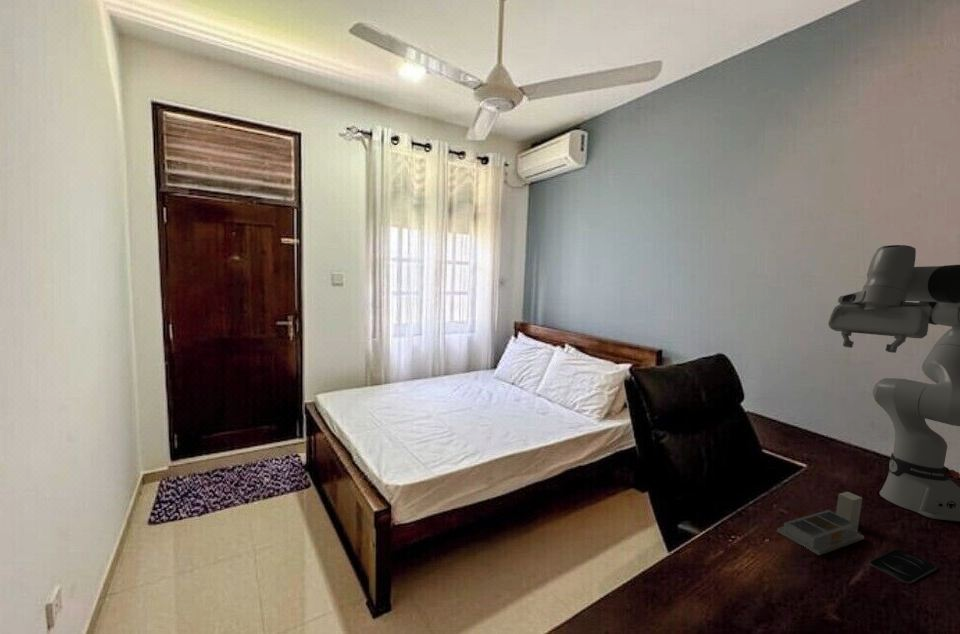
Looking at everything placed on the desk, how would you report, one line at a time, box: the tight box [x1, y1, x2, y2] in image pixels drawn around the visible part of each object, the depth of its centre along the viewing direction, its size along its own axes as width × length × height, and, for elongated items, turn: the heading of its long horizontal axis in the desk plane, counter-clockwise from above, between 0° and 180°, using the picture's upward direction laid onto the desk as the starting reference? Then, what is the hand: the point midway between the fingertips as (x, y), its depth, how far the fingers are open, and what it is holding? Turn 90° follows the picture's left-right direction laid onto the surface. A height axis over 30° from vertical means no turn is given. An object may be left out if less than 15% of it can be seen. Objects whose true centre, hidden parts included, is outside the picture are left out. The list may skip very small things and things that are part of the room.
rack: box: [776, 509, 865, 556], centre depth 110 cm, size 20×10×4 cm, turn 113°
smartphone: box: [869, 548, 937, 585], centre depth 99 cm, size 8×1×15 cm
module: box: [835, 491, 863, 524], centre depth 117 cm, size 4×4×8 cm
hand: (868, 349), depth 111 cm, fingers open, 8 cm apart
